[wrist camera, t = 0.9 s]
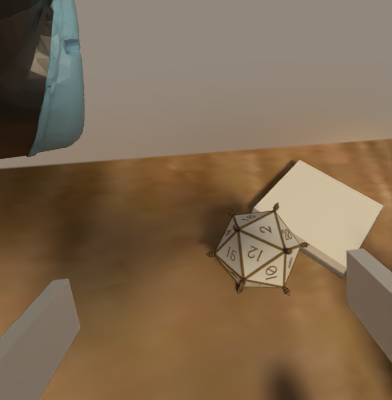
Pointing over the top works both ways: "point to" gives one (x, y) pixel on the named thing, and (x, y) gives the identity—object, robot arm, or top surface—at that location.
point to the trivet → (322, 214)
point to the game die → (258, 250)
